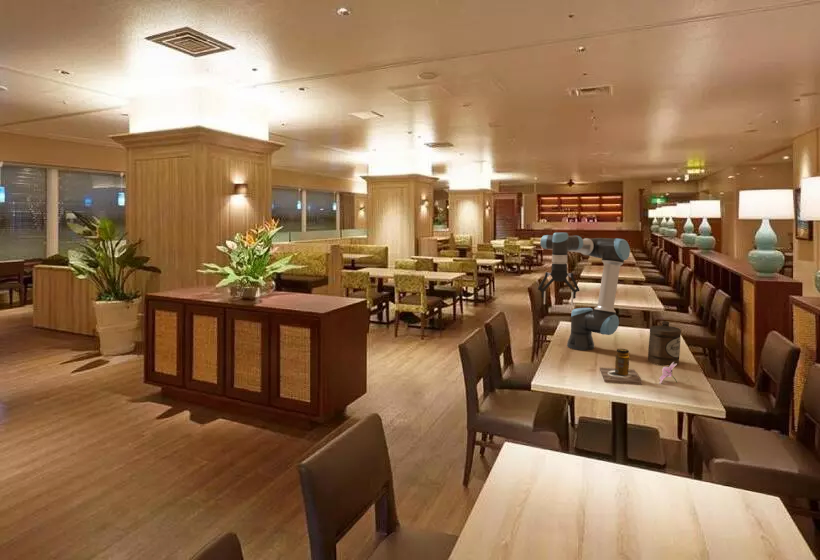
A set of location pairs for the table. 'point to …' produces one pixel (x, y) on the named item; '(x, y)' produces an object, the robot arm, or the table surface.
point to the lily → (667, 372)
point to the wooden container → (664, 344)
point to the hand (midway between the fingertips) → (558, 304)
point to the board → (615, 379)
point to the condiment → (621, 363)
